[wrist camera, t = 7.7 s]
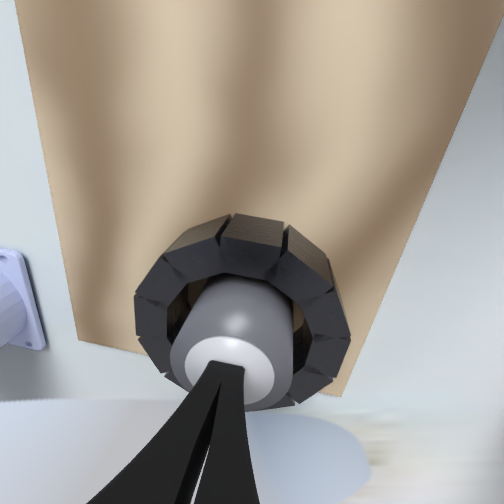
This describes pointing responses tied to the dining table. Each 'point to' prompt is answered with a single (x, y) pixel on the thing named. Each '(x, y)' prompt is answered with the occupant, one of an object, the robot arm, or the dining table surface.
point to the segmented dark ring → (255, 266)
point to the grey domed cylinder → (239, 337)
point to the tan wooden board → (244, 133)
